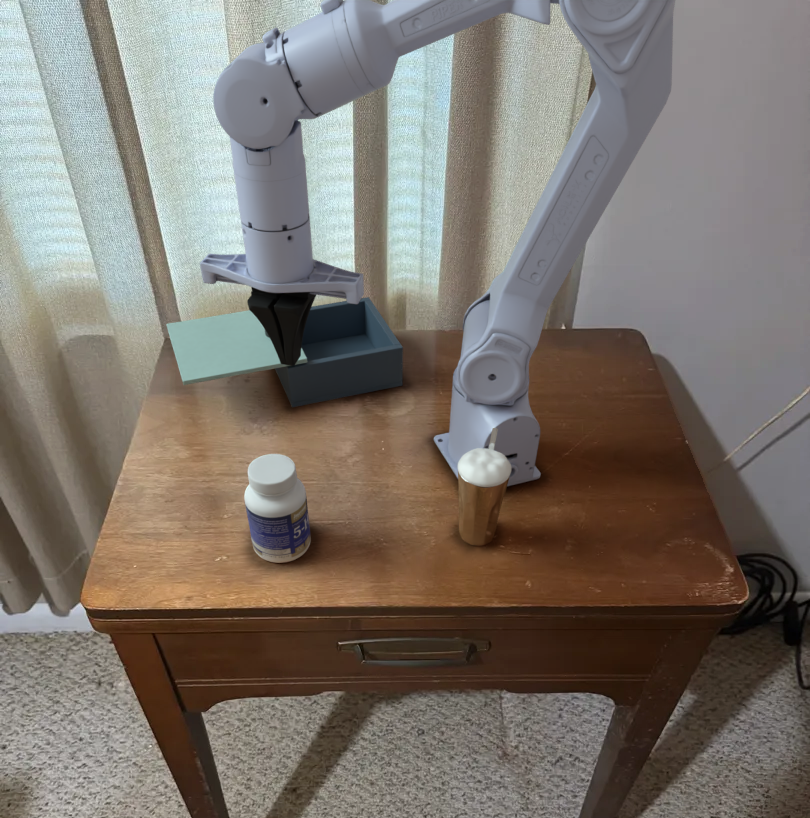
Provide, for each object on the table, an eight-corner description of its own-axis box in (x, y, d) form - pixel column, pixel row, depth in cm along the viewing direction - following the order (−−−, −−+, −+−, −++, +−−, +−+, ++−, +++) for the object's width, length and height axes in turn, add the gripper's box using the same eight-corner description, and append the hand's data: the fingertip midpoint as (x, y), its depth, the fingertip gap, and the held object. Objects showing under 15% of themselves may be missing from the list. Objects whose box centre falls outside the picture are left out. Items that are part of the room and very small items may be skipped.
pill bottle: (307, 565, 67) (299, 490, 61) (248, 563, 67) (233, 489, 61) (314, 523, 71) (306, 449, 64) (258, 522, 71) (245, 447, 64)
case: (402, 385, 87) (403, 347, 83) (292, 407, 83) (287, 368, 80) (369, 333, 94) (368, 296, 91) (267, 352, 91) (262, 314, 88)
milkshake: (508, 517, 72) (521, 433, 64) (494, 556, 68) (506, 472, 61) (462, 506, 73) (470, 422, 65) (446, 544, 69) (452, 459, 62)
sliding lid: (307, 362, 80) (303, 322, 77) (183, 385, 77) (174, 344, 74) (280, 308, 88) (276, 270, 85) (167, 327, 85) (157, 288, 81)
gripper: (372, 208, 64) (374, 348, 74) (214, 190, 67) (236, 328, 76) (347, 243, 60) (353, 388, 69) (178, 222, 62) (207, 365, 72)
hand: (290, 359), depth 73 cm, fingers closed
